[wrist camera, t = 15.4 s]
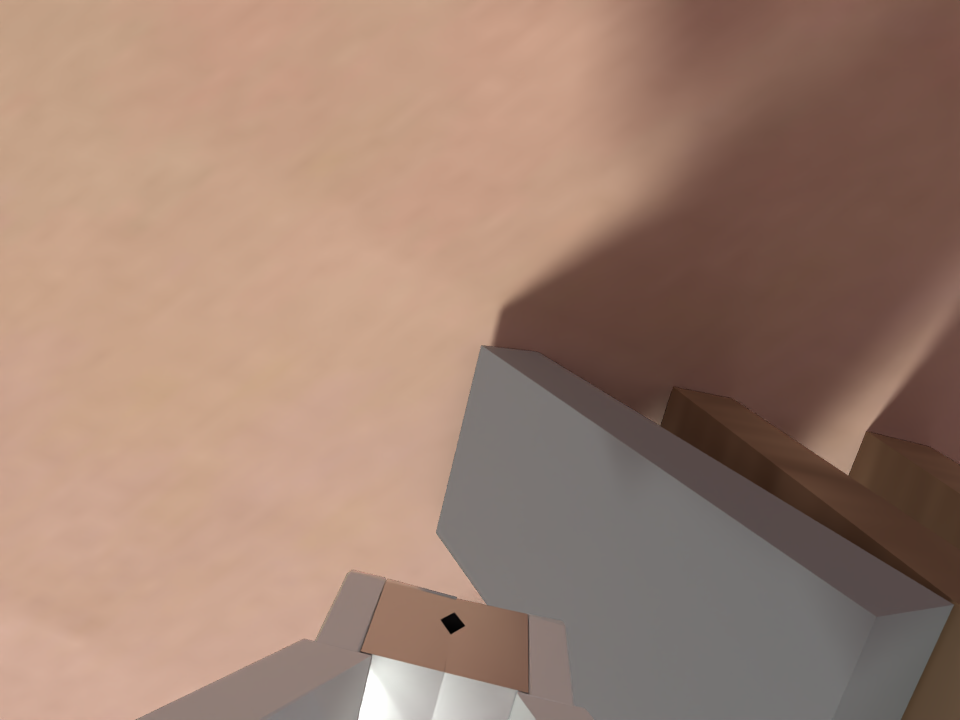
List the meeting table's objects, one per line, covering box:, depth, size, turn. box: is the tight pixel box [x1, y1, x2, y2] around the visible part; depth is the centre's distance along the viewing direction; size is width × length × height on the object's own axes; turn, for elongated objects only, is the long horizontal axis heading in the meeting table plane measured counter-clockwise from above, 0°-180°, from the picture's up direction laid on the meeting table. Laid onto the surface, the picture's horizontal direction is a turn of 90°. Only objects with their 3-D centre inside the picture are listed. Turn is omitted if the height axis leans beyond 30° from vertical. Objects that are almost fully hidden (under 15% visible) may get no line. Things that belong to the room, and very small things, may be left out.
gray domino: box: [436, 345, 954, 720], centre depth 13 cm, size 2×5×10 cm
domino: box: [661, 387, 960, 720], centre depth 12 cm, size 2×5×10 cm, turn 167°
